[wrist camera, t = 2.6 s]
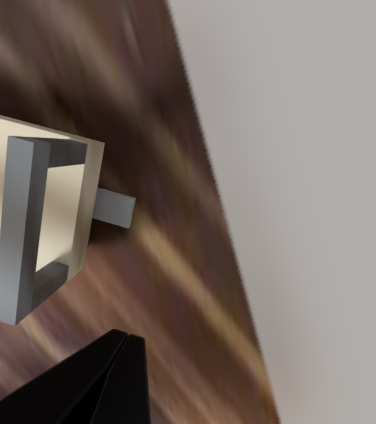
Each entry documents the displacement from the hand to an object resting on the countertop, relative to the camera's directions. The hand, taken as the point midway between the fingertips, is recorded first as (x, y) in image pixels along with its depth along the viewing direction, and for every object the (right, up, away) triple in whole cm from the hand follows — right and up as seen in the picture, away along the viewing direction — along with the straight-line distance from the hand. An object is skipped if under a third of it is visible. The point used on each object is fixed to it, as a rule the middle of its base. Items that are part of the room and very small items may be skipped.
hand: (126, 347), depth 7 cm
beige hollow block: (-9, +5, +11) cm, 15 cm away
